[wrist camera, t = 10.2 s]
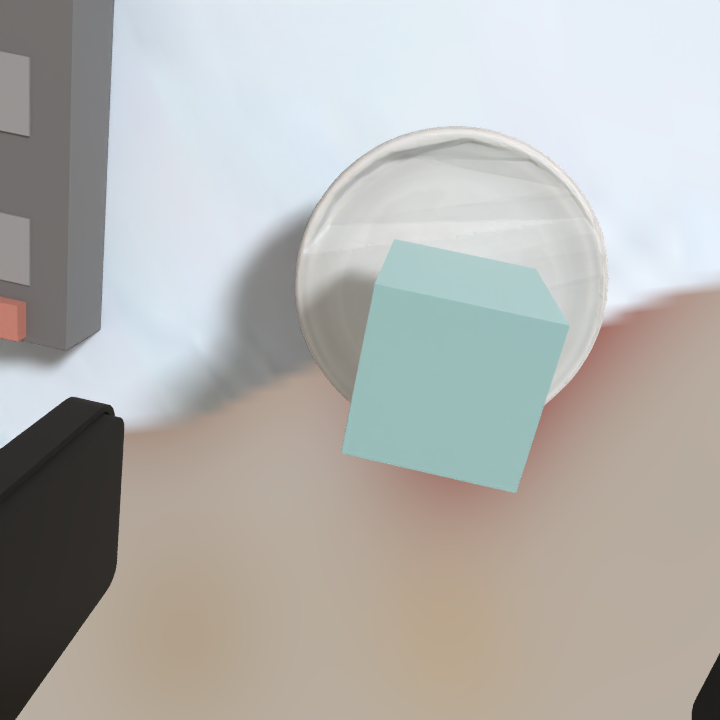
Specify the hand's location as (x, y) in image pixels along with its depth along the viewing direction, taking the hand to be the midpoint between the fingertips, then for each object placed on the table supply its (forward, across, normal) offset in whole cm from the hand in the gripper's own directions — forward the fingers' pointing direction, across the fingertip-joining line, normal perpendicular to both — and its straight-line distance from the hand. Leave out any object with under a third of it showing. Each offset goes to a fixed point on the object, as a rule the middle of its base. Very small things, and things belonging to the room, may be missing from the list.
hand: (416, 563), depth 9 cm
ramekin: (+20, 0, 0) cm, 20 cm away
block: (+15, 0, 0) cm, 15 cm away
